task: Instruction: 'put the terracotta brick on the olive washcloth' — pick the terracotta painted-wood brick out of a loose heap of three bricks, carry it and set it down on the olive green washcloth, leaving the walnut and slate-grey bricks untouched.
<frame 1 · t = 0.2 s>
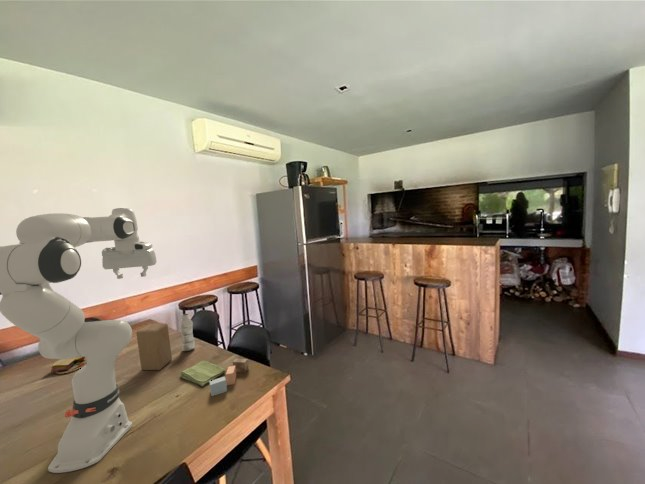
hand: (132, 277, 121), 48 cm above the table, fingers open, 8 cm apart
plastic bottle: (189, 350, 152), on the table
block: (157, 365, 138), on the table
brick slate: (218, 391, 113), on the table
toy sandwich meal: (70, 369, 140), on the table
washcloth: (203, 375, 127), on the table
brick walnut: (241, 370, 128), on the table
brick terracotta: (231, 380, 121), on the table
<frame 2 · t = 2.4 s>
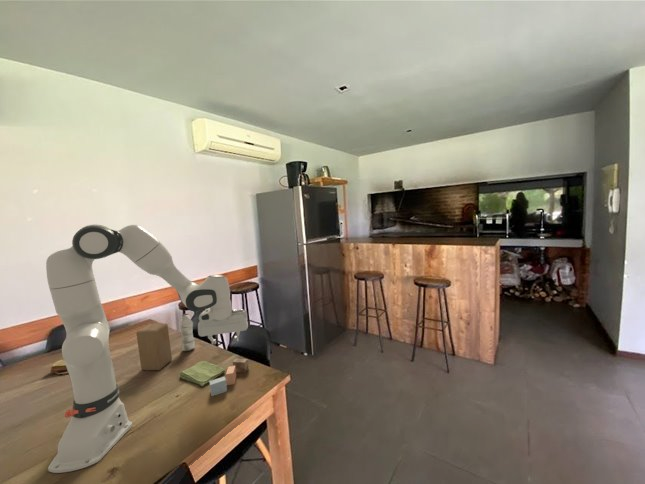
hand: (225, 342, 119), 17 cm above the table, fingers open, 8 cm apart
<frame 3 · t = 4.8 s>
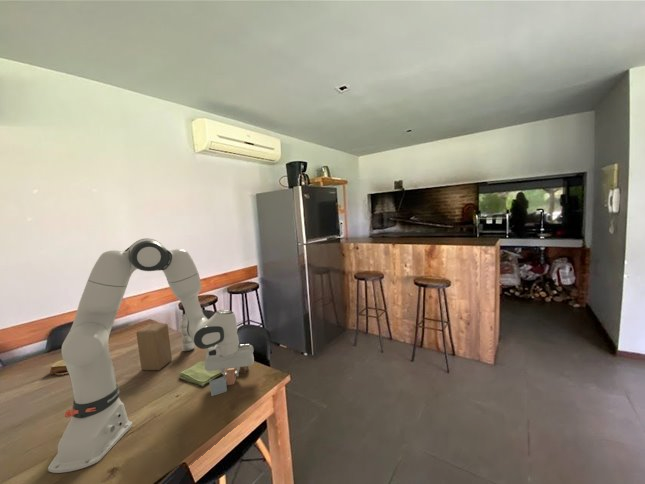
hand: (231, 376, 120), 2 cm above the table, fingers closed on brick terracotta, 3 cm apart
brick terracotta: (231, 380, 121), on the table, touching gripper
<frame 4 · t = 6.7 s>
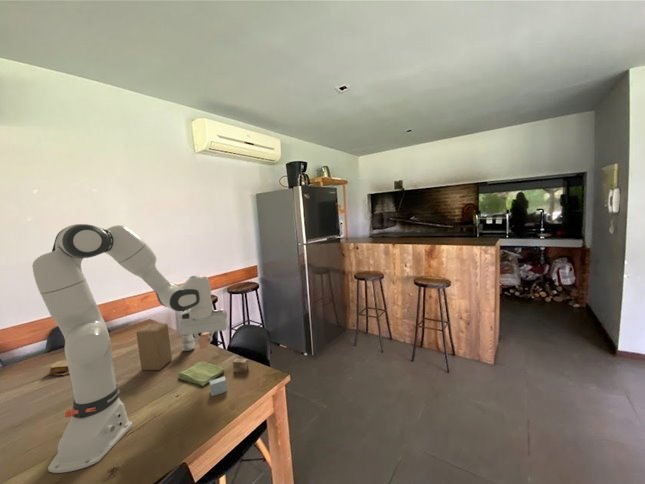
hand: (205, 341, 123), 17 cm above the table, fingers closed on brick terracotta, 3 cm apart
brick terracotta: (205, 345, 123), point 15 cm above the table, touching gripper
when the fingers open (6 cm above the table, at t = 9.0 s): brick terracotta drops 2 cm, resting on washcloth.
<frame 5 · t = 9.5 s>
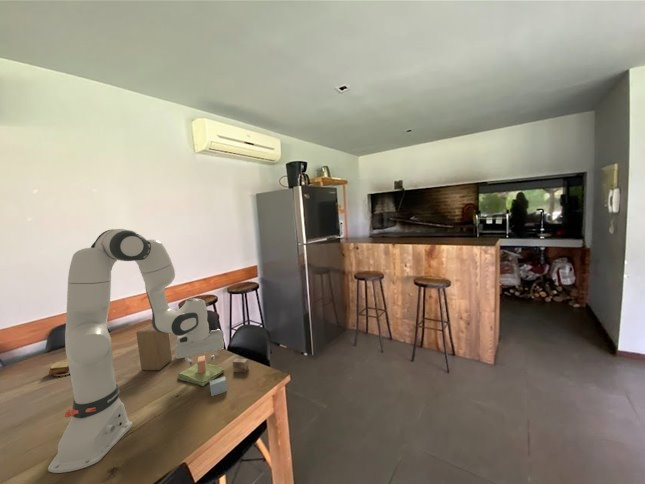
hand: (201, 362, 126), 6 cm above the table, fingers open, 8 cm apart
washcloth: (201, 376, 126), on the table, touching brick terracotta
brick terracotta: (202, 369, 126), point 3 cm above the table, touching washcloth
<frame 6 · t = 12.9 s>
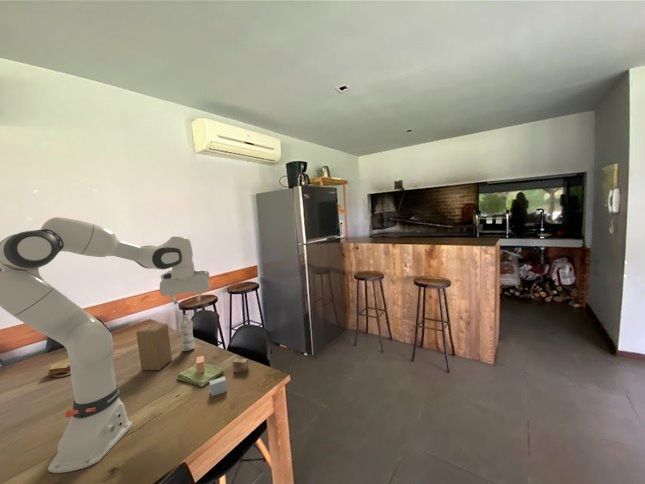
hand: (187, 302, 124), 34 cm above the table, fingers open, 8 cm apart
at the end: brick terracotta inside the target area on the washcloth (0.4 cm from its centre), point 3.4 cm above the washcloth's base; brick walnut moved 0.1 cm from its start; brick slate moved 0.1 cm from its start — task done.
